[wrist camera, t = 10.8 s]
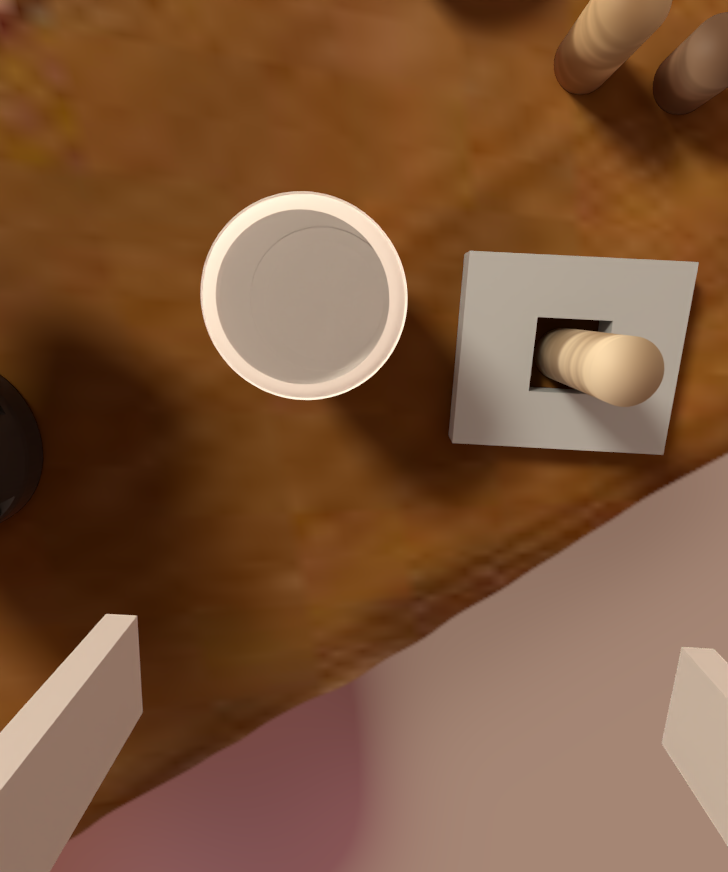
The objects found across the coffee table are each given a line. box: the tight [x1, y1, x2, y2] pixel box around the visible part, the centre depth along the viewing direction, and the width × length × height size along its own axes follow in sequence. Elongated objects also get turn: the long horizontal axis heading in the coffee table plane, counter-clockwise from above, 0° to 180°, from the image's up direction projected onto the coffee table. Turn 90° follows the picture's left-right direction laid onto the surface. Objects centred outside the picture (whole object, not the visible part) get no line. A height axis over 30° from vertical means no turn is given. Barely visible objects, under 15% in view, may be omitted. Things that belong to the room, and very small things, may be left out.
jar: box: [201, 191, 407, 400], centre depth 35 cm, size 11×10×15 cm
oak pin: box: [554, 0, 672, 95], centre depth 34 cm, size 4×4×8 cm
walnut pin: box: [653, 12, 728, 115], centre depth 35 cm, size 4×4×5 cm
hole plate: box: [448, 251, 699, 455], centre depth 41 cm, size 16×14×2 cm
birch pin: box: [534, 328, 664, 407], centre depth 37 cm, size 4×4×12 cm
